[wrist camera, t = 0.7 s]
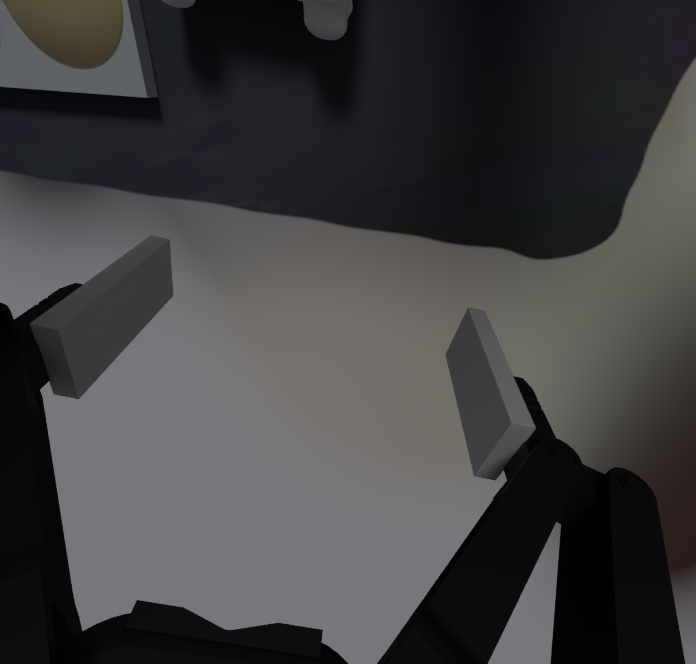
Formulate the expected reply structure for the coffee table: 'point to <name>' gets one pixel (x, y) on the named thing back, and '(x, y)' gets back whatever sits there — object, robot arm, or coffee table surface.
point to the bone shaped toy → (311, 16)
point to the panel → (75, 47)
